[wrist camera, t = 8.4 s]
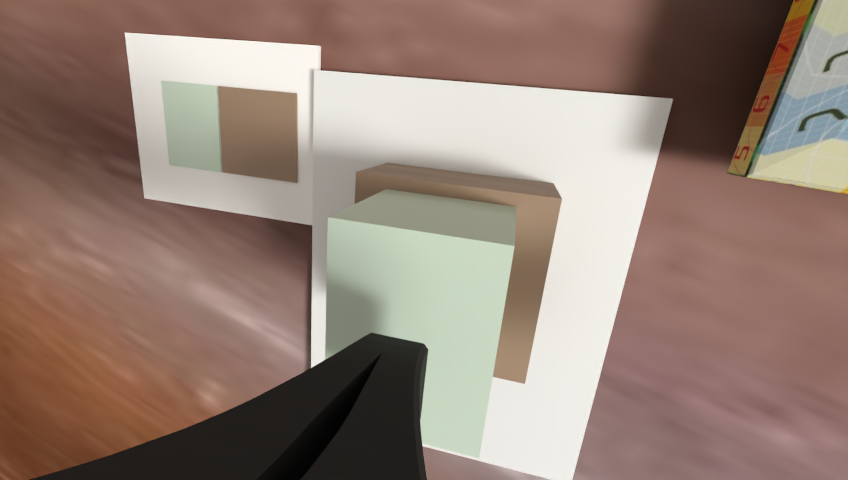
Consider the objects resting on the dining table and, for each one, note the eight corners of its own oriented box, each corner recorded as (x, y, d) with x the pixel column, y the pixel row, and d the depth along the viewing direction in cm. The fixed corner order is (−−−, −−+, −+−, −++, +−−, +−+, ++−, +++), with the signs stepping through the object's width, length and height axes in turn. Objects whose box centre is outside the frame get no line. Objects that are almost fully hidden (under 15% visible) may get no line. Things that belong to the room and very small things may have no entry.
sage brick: (490, 363, 15) (478, 457, 11) (376, 339, 16) (323, 417, 12) (516, 206, 13) (514, 245, 9) (386, 189, 14) (328, 217, 10)
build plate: (569, 474, 20) (570, 484, 20) (315, 409, 23) (310, 416, 22) (667, 99, 15) (673, 98, 14) (320, 71, 17) (313, 70, 17)
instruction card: (318, 224, 20) (315, 226, 19) (147, 197, 21) (142, 198, 21) (320, 46, 17) (317, 45, 17) (128, 33, 19) (122, 32, 19)
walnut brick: (524, 336, 18) (524, 383, 15) (377, 307, 19) (348, 345, 16) (553, 183, 16) (561, 198, 13) (387, 162, 17) (356, 171, 14)
